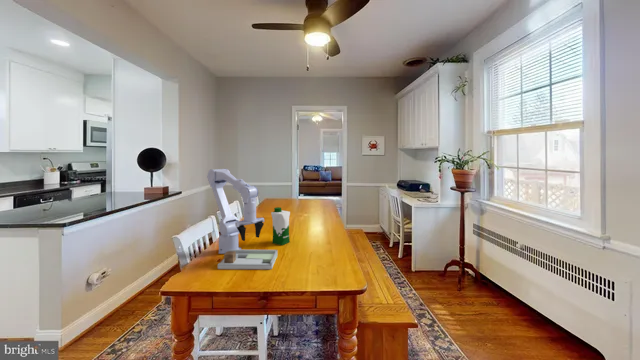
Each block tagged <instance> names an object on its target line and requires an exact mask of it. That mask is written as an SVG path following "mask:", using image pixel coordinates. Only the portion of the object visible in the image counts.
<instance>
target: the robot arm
mask: <svg viewBox="0 0 640 360" xmlns="http://www.w3.org/2000/svg"><path fill="white" fill-rule="evenodd" d="M206 176H207V177H206V178H207V181H208V183H209V186H210V187H211V190H212V193H213V195H214V199H215V201H216V204H217V207H218V210H219V213H220V216H221V219H220V220H219V222H218V225H219V233H220V235H219V237H218V254H221V255H222V254H223V255H224V254H225V253H226V252H227V251H229V250H242V247H239V235H240V238H241V241H243V242H245V241H246V229H247V227H245V226H247V225H252V224H253V225H254V228H255V229H254V230H255V231H254V232H255V237H256V238H258V239H259V237H260V235H261V231H262V229H263V227H264V223H265V218H264V217H257V197H258V196H259V190H258V189H259V188H258V187H257V186H256V185H250V183H248V182H245V180H244V179H243V178H236V177H235V176H234V175H233V174H231V171H230V170H229V169H228V168H219V169H218V168H215V169H212V168H211V169H209V170H208V172H207V175H206ZM227 183H229V184H231V185H232V188H233V189H234V190H235V191H237V192H238V193H239V194H240V196H241V199H242V202H243V220H239V219H238V217H237V216H235V215H234V214H233V213H232V209H231V207H230V204H229V201H228V198H227V196H226V192H225V191H224V186H226V184H227Z"/></svg>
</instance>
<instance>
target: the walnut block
mask: <svg viewBox="0 0 640 360" xmlns="http://www.w3.org/2000/svg"><path fill="white" fill-rule="evenodd" d="M223 259H224V263H234V261H235V260H236V251H227V252H226V253H225V254H223Z"/></svg>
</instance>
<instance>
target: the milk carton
mask: <svg viewBox="0 0 640 360" xmlns="http://www.w3.org/2000/svg"><path fill="white" fill-rule="evenodd" d="M273 210H274V211H271V212H270V213H271V214H270V215H271V218H272V219H271V220H272V242H271V243H272V244H274V245H278V246H284V245H287V244H289V243H291V242H290V216H291V211H288V210H283V209H282V207H280V206H279V207H278V206H277V207H274V209H273Z"/></svg>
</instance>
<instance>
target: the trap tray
mask: <svg viewBox="0 0 640 360" xmlns="http://www.w3.org/2000/svg"><path fill="white" fill-rule="evenodd" d="M229 251H236V260H235V261H234V263H224V258H223V259H222V260H221V261H220V262H219V263H218V264H217V269H218V270H272V269H273V267H274V264H275V263H276V259H277V258H278V249H240V250H229Z"/></svg>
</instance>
